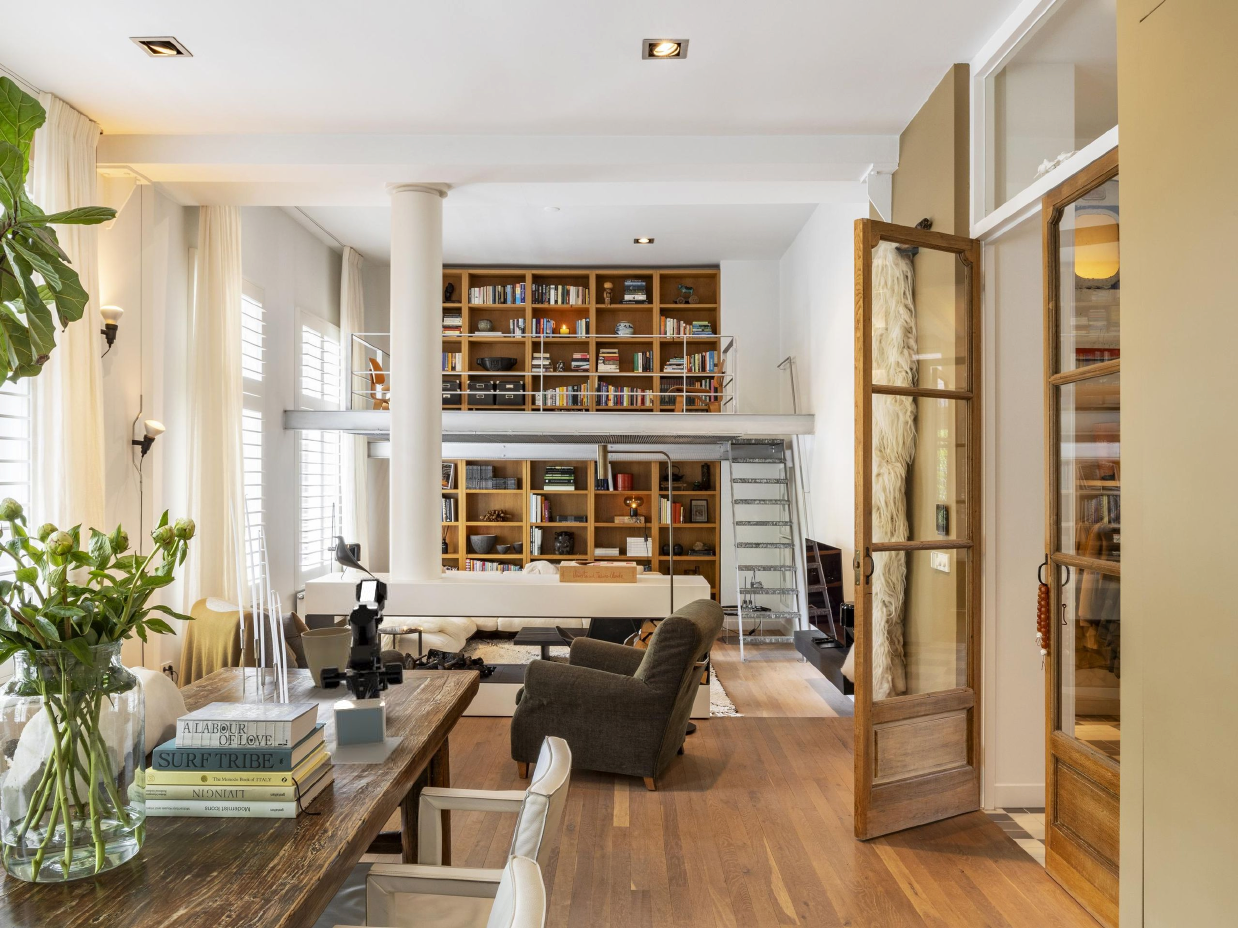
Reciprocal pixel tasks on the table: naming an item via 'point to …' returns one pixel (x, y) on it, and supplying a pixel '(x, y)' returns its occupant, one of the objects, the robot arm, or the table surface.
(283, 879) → the table surface
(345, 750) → the mat
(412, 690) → the table surface
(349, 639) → the plant pot
